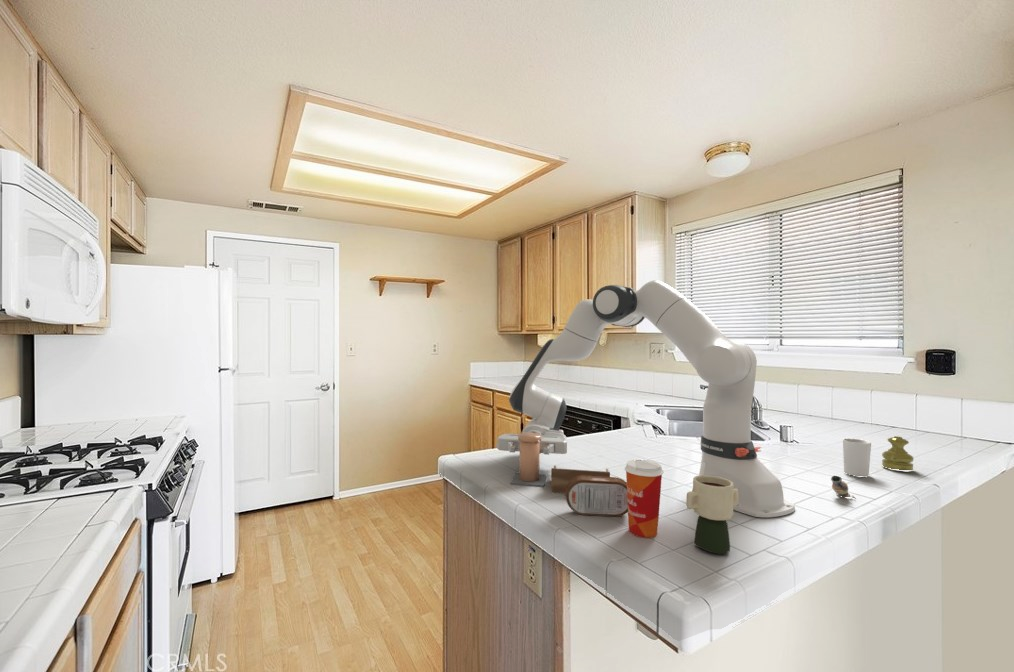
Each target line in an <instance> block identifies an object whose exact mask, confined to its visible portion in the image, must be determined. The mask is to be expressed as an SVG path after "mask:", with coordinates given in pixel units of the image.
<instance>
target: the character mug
mask: <svg viewBox="0 0 1014 672" xmlns="http://www.w3.org/2000/svg"><path fill="white" fill-rule="evenodd" d="M692 479H693V480H692V490H691V491H687V492H686V508H687V509H688V510H693V512H694V513H696V514H697V515H698V518H697V521H696V528H695V534H694V540H693V541H694V545H695V546H697V547H699V548H701V549H702V550H704V551H707V552H710V553H714V554H727V553H728V552H730V551H731V542H730V534H729V526H728V525H729V524H728V522H727V521H728V520H731V519H732V518H733V517H734V510H733V506H736V505H738V490H737V489H734V485H733V482H731V481H730V480H727V479H725V478H721V477H717V476H709V475H700V476H699V475H696V476H694V477H693V478H692Z"/></svg>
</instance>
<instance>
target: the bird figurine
mask: <svg viewBox="0 0 1014 672" xmlns="http://www.w3.org/2000/svg"><path fill="white" fill-rule="evenodd" d="M830 481H831V482H832V484H831V487H832V490H833V491H834V492H833V493H834V494H836V496H838V495H839V496H838V497H840V496H842V497H841V498H843V497H852V498H854V500H855V499H857V498H856V497H855V496H854V495H851V494H850V493H849V486H848V484H847V483H846V482H845V481H843V478H842V477H841V476H839V475H832V476H831V478H830Z"/></svg>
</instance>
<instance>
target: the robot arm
mask: <svg viewBox="0 0 1014 672" xmlns="http://www.w3.org/2000/svg"><path fill="white" fill-rule="evenodd" d="M645 319H647V320H648V321H649V322H650V323H652V325H654V327H655V328H657V329H658V330H659V331H660V332H661V333H662V334H663V335H664V336H665V337H666V338H667V339H668V340H669V341H670V342H671V343H673V344H674V345H675V346H676V347H677V348H678V350H680V352H681V353H682V354H683V356H684V357H685V358H686V360H687V361H688V362H689V363H690V365H691V366H692V367H693V368H694V369H695V370H696V373H697V374H698V376H699V377H700V378H701V379H702V381H704V382H706V383H707V384H708V386H707V390H706V391H707V392H706V396H705V400H704V403H703V406H702V408H703V409H702V411H703V412H702V435H701V437H700V450H701V459H700V467H699V473H698V476H700V475H709V476H717V477H721V478H725V479H727V480H730V481H731V482H733V485H734V489H737V490H738V505H736V506H733V511H736V512H739V513H741V514H742V513H743V514H745V515H749V516H752V517H754V518H777V517H782V516H786V515H789V514H792V513H793V512H795V511H796V509H795V504H794V503H793V502H791V501H789V500H786V499H784V490H783V489H784V488H783V485H782V483H781V480H779V478H778V477H777V476H776V475H775V474H774V473H773V472H772V471H770V470H769V468H767V466H765V464H764V463H763V462H761V460H759V458H758V455H757V454H758V452H759V453H760V452H762V451H761V450H760V449H761V448H762V447H761V446H756V447H755V445H754V443H753V441H752V440H751V436H752V435H751V434H752V433H751V432H752V431H751V429H752V405H753V400H754V399H753V398H754V392H755V386H756V385H755V382H756V373H757V356H756V353H755V352H754V350H752V348H751V347H750V346H748V345H747V344H745V343H743V342H740V341H736V340H735V341H732V340H730V339H729V338H728V337H727V336H726V335H725V334H724V333H723V332H722V331H721V330H720V329H719V328H718V327H717V326H716V325H715V323H714V322H712V320H711V319H710V318H709V316H708V315H707V314H705V313H704V312H703V311H702V309H700V308H699V307H697V306H696V305H695V304H693V303H692V301H690V300H689V299H687V297H686V296H684V295H683V294H682V293H681V292H679V291H677V290H676V289H675V288H673V287H671V286H670V285H668V284H667V283H664V282H663V281H661V280H657V279H655V280H650V281H648V282H646V283H645V284H643V285H642V286H641V287H640V288H639V289H637V290H634V288H632V287H628V286H624V285H619V284H618V285H617V284H610V285H605V286H603V287H601V288H599V289H598V290H597V291H596V292H595V294H594V296H593V299H590V298H589V299H588V298H587V299H586V298H585V299H582V300H580V301H579V302H578V303H577V304H576V306H575V307H574V309H573V310H572V312H571V314H570V315H569V318H568V319H567V322H566V323H565V325H564V328H563V330H562V332H561V333H560V334H559V335H558V336H557V337H555V338H552V339H548V340H547V341H546V343H544V345H543V346H542V347H541V349H540V350H539V352H538V353H537V355H536V356H535V358H534V360H533V361H532V362H531V363H530V366H529V367H528V369H527V370H526V372H525V373H524V375H523V376H522V378H521V379H520V381H519V382H518V383H517V384H516V385H515V386H514V387H513V388H512V391H511V392H510V394H509V399H508V402H509V404H510V406H511V408H512V409H513V411H514V412H517V413H520V414H523V415H526V416H528V417H530V418H531V420H530V421H528V422H527V423H526V425H525V427H524V428H523V429H522V431H521V433H538V434H541V441H540V455H541V454H543V455H550V454H555V455H556V454H557V455H558V454H559V455H566V454H567V453H568V438H567V436H566V435H565V434H564V430H563V429H560V428H561V426H562V425H563V422H564V419H565V416H566V412H567V403H566V401H565V398H563V397H561V396H559V395H557V394H555V393H552V392H551V391H550V392H549V391H547V390H545V389H543V388H542V387H538V386H537V385H535V382H536V380H537V378H538V377H539V375H540V374H541V372H542V371H543V369H544V368H545V366H547V364H549V363H552V362H558V361H559V362H580V361H583V360H586V359H588V358H589V357H590V355H591V354H593V351H594V350H595V348H596V347H597V343H598V341H599V339H600V337H601V335H602V333H603V331H604V329H605V328H606V327H608V326H609V325H611V326H614V327H615V326H617V327H623V328H632V327H635V326H637V325H640V324H641V323H642V322H643V321H644V320H645ZM518 434H519V433H510V432H509V433H502V434H501V435H499V436H497V439H496V449H497V450H499V451H504V452H505V451H508V452H509V453H516V452H519V453H520V441H519V440H518Z"/></svg>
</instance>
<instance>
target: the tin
mask: <svg viewBox="0 0 1014 672" xmlns="http://www.w3.org/2000/svg"><path fill="white" fill-rule="evenodd" d="M564 496H565V499H566V503H567V505H568V507H569V508H570V510H571V511H573V512H574V513H576V514H578V515H582V516H596V517H597V516H599V517H611V518H612V517H614V518H615V517H616V518H617V517H618V518H619V517H622V516H624V515H626V514H628V502H627V481H625V480H624V479H622V478H620V477H615V476H610V477H600V476H583V475H582V476H577V477H575V478H573V479H572V480H570V481H569V483H568V484H567V486H566V489H565V493H564Z"/></svg>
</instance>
